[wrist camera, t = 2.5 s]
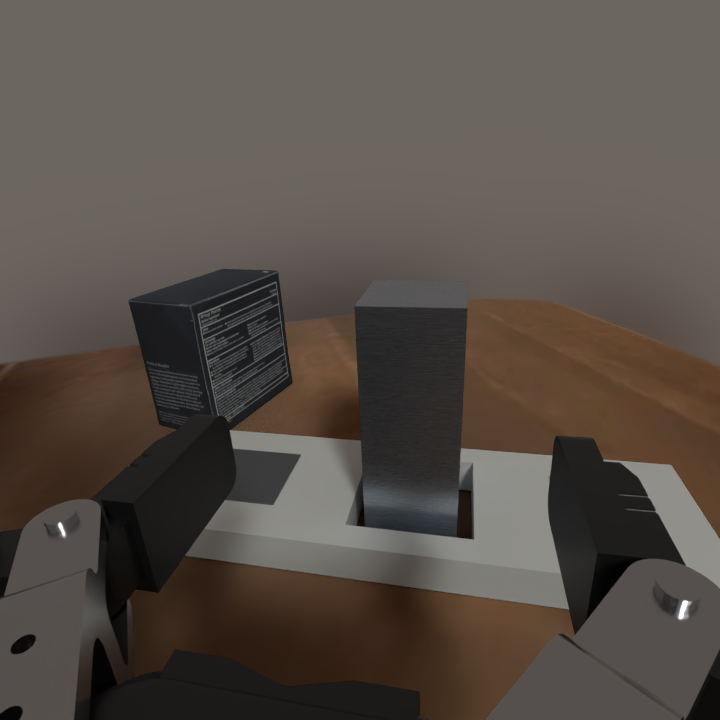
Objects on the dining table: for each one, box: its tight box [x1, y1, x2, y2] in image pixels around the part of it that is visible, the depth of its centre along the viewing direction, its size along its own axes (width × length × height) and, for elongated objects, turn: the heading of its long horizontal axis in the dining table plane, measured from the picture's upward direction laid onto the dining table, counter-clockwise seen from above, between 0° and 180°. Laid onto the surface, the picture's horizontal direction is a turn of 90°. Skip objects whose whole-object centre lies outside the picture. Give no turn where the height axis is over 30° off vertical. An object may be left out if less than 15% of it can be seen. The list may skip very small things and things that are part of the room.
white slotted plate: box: [185, 430, 720, 609], centre depth 26 cm, size 28×9×2 cm, turn 78°
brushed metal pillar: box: [355, 280, 468, 538], centre depth 24 cm, size 5×5×13 cm
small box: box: [129, 269, 292, 429], centre depth 39 cm, size 11×6×10 cm, turn 155°
